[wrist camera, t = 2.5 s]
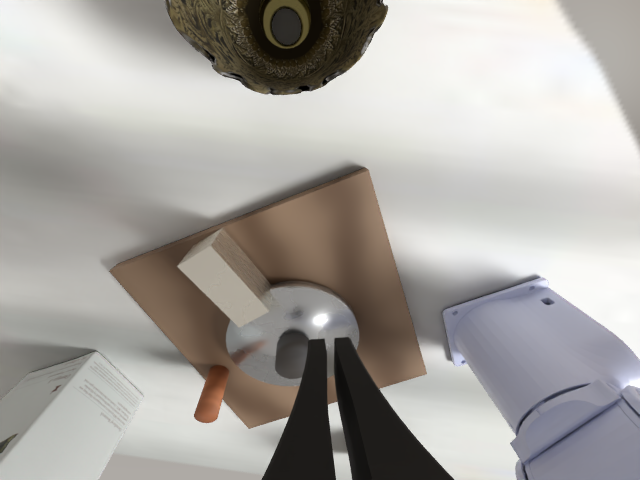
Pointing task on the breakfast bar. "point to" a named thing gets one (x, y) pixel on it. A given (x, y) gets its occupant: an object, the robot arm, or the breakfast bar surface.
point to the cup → (266, 51)
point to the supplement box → (65, 420)
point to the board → (277, 266)
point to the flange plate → (265, 307)
